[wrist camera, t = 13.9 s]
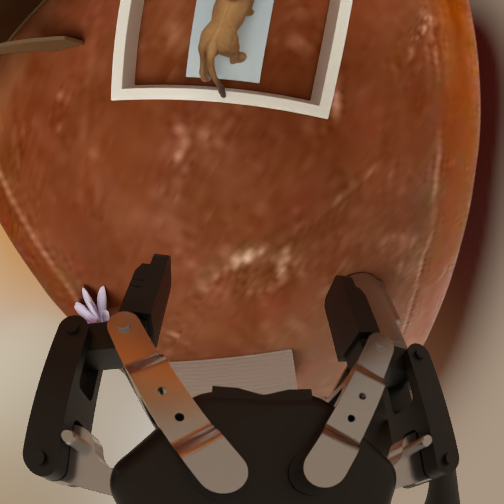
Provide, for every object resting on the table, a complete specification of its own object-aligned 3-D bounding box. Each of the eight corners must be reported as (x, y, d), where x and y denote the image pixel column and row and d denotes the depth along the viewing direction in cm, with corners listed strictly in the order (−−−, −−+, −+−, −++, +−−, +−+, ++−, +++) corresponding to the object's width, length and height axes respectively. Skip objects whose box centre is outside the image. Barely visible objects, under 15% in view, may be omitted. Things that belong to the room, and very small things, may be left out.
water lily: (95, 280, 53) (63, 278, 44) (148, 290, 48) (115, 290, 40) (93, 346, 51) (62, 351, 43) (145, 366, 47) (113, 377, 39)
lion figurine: (207, -12, 20) (197, -59, 11) (256, -12, 20) (260, -61, 11) (198, 100, 24) (177, 70, 15) (254, 99, 24) (258, 68, 15)
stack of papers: (172, 381, 67) (168, 417, 59) (155, 361, 61) (148, 401, 52) (294, 369, 65) (299, 408, 57) (291, 348, 58) (298, 392, 50)
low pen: (344, -23, 18) (357, -31, 15) (317, 112, 29) (327, 119, 26) (143, -42, 15) (132, -52, 12) (124, 95, 26) (111, 100, 23)
